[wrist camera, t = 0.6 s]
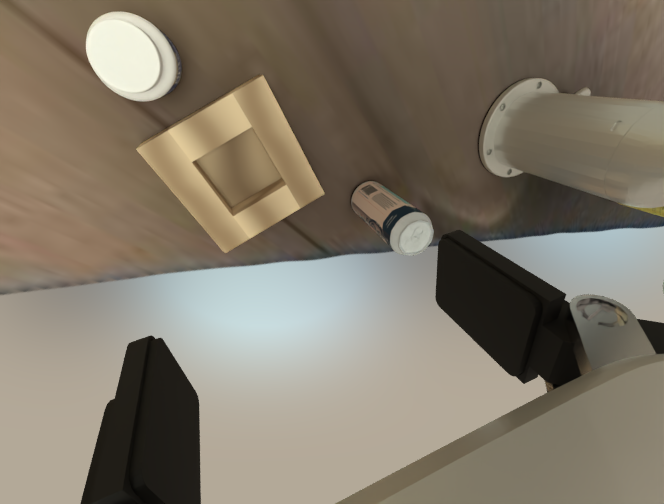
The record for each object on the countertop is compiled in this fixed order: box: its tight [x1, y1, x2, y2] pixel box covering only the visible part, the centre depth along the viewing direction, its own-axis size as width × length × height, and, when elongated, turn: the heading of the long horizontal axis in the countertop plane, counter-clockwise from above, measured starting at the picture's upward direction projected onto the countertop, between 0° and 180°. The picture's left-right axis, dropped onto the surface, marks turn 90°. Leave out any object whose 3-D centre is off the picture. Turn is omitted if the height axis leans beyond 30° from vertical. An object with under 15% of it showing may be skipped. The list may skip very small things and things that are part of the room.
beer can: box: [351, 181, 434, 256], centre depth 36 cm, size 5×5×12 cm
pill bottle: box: [86, 12, 182, 101], centre depth 24 cm, size 5×5×10 cm
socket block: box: [136, 75, 325, 253], centre depth 33 cm, size 13×13×3 cm
